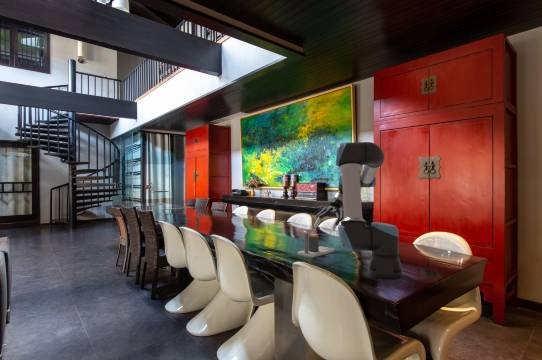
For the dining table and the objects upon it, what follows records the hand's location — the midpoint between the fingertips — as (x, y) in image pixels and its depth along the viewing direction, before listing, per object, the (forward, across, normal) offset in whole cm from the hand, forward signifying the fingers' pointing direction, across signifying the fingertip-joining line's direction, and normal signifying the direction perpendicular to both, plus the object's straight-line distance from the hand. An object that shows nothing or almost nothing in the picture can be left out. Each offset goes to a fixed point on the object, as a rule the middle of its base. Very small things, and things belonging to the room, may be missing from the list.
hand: (323, 227), depth 180 cm
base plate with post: (+16, 0, -5) cm, 17 cm away
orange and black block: (+17, 0, -3) cm, 17 cm away
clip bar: (+11, +6, +9) cm, 15 cm away
